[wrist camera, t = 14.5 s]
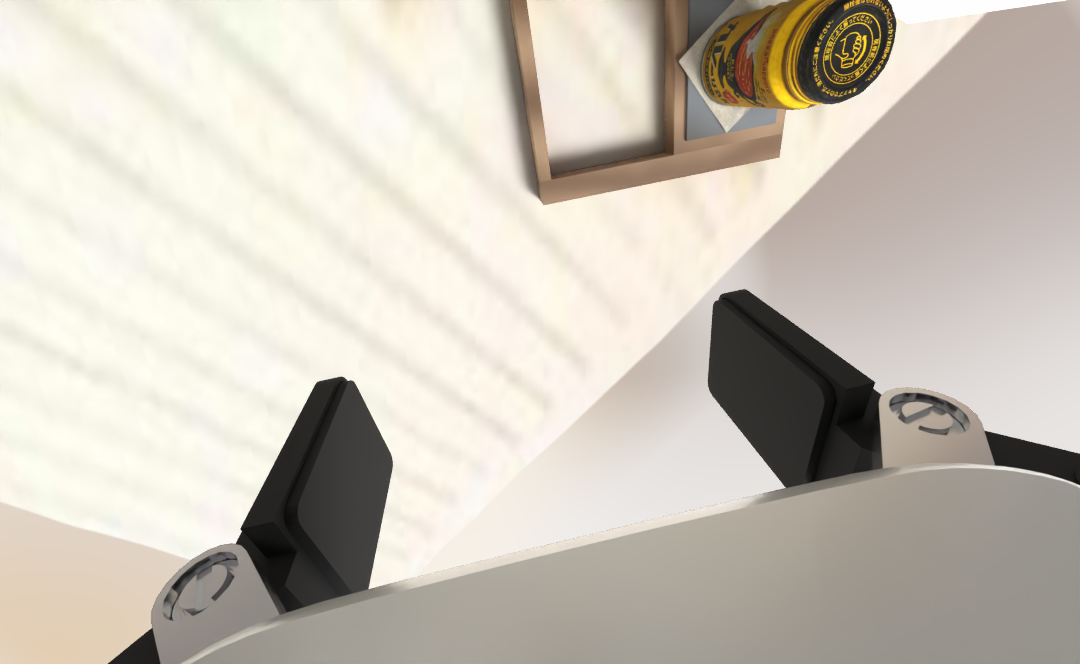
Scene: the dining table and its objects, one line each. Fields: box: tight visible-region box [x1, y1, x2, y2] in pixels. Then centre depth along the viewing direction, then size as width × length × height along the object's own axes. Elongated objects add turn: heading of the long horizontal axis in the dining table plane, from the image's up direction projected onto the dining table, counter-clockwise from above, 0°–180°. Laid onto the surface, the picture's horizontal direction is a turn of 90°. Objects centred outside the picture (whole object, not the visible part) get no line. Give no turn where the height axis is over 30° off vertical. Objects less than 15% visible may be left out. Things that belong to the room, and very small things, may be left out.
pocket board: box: [509, 0, 791, 205], centre depth 33 cm, size 17×22×2 cm
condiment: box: [679, 0, 896, 133], centre depth 28 cm, size 7×8×12 cm
